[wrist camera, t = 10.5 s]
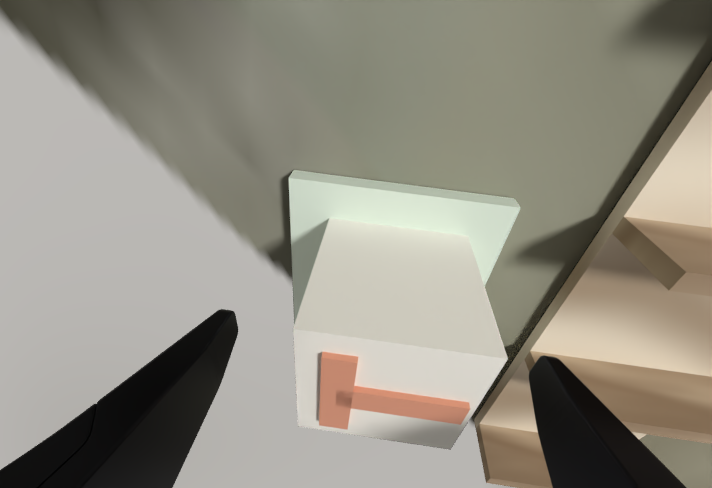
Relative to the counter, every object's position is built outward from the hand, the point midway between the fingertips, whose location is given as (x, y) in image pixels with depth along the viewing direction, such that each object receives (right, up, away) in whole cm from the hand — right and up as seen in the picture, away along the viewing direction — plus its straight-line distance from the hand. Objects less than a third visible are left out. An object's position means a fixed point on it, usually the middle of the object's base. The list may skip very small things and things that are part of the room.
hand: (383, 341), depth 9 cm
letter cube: (0, +2, +2) cm, 3 cm away
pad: (0, +2, +3) cm, 3 cm away
